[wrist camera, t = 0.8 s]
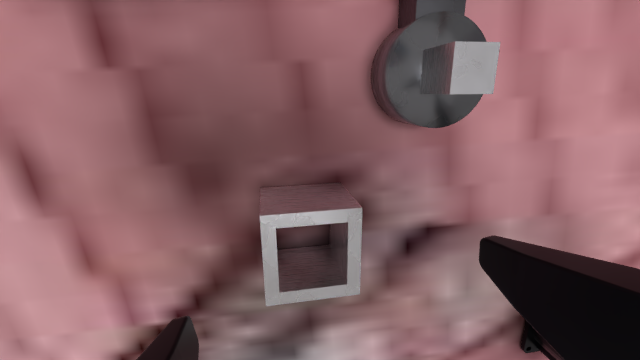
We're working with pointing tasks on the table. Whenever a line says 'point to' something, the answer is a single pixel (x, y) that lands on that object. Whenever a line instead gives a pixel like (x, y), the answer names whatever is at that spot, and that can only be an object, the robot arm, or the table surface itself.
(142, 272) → the table surface
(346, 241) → the socket
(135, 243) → the table surface
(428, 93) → the ratchet
